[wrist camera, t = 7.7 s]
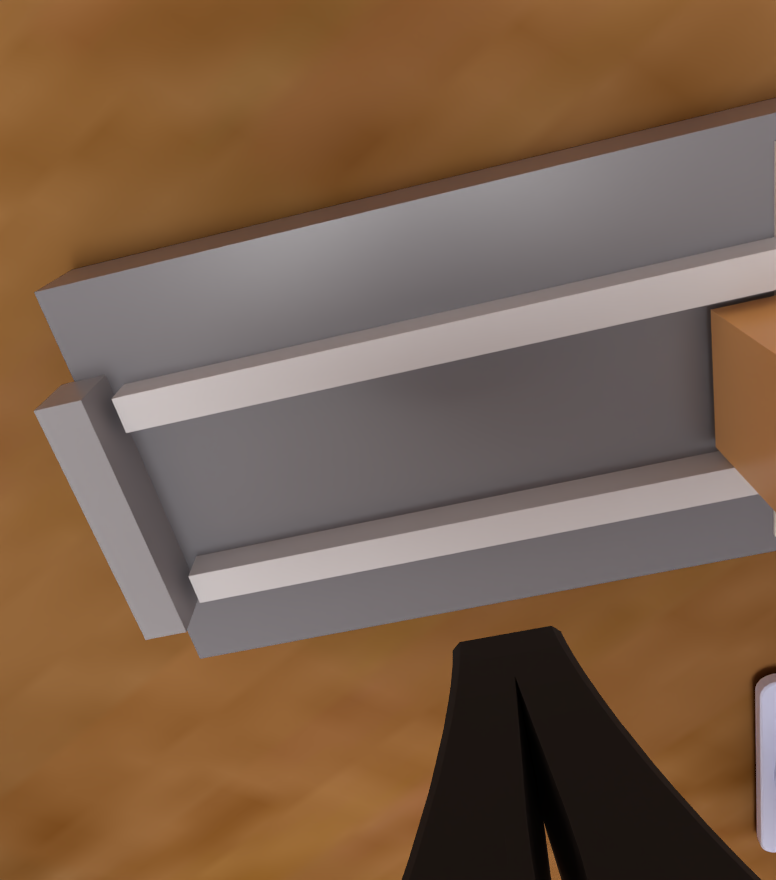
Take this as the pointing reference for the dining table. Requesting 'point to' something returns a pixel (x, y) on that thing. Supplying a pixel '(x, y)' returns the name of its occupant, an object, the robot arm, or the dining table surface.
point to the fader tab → (746, 390)
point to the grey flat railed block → (422, 391)
